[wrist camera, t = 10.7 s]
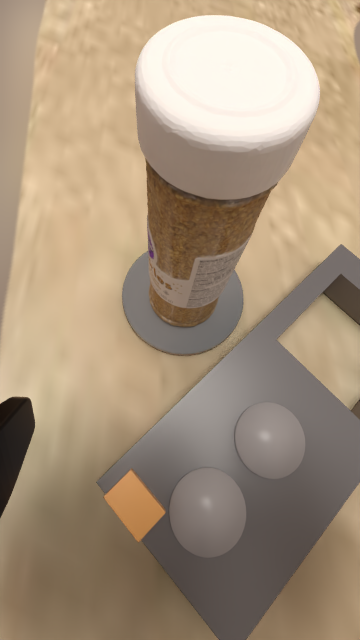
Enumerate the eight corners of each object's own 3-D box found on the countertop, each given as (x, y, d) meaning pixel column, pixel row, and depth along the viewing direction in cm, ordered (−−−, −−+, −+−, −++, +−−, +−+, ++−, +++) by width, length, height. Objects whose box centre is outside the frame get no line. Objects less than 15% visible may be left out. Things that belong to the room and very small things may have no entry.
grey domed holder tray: (221, 620, 15) (236, 669, 12) (104, 473, 16) (93, 484, 14) (424, 351, 20) (470, 340, 17) (321, 263, 22) (346, 238, 19)
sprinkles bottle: (138, 279, 20) (104, 21, 7) (200, 257, 21) (267, -7, 8) (165, 341, 19) (182, 161, 6) (230, 314, 19) (366, 108, 7)
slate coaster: (180, 381, 18) (181, 380, 18) (98, 292, 20) (96, 289, 19) (264, 301, 21) (267, 298, 20) (184, 227, 22) (185, 222, 22)
